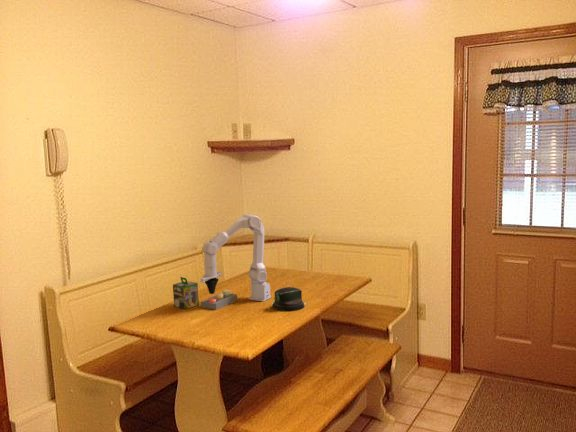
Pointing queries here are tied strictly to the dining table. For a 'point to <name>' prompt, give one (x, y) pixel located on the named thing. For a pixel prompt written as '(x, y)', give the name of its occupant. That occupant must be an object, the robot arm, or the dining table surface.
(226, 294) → the sage button
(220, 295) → the ochre button
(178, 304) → the chalk box
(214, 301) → the red button
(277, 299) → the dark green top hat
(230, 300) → the grey compartment tray
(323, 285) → the dining table surface
